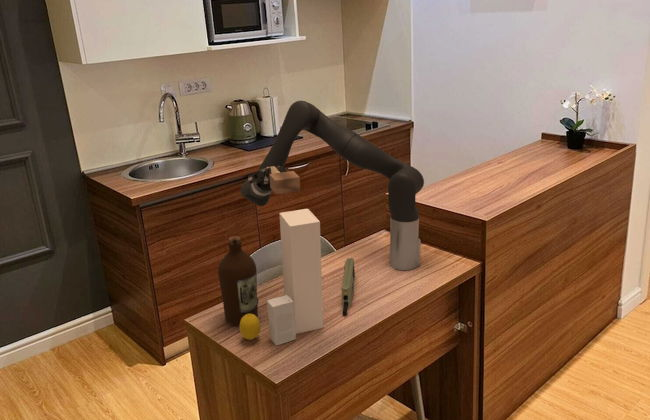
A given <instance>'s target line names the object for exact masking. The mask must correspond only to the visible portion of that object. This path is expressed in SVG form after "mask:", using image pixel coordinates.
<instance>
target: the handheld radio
mask: <svg viewBox="0 0 650 420" xmlns="http://www.w3.org/2000/svg"><path fill="white" fill-rule="evenodd" d="M343 270H344V271H343V277H342V278H343V279H342V284H341V298H342V299H341V301H342V306H343V307H342V313H341V314H342V315H343V316H347V313H348V310H349V309H348V308H349V307H351V306H352V301H353V298H354V297H353V296H354V289H355V287H354V285H355V279H356V278H355V277H356V276H355V275H356V271H355V259H354V258H353V257H348V258H346V260H345V261H344V267H343Z"/></svg>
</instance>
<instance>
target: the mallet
mask: <svg viewBox="0 0 650 420" xmlns="http://www.w3.org/2000/svg"><path fill="white" fill-rule="evenodd" d="M267 168H268V167H267ZM269 175H270V188H271V189H272V190H273V191H272V192H273V194H275V195H282V194H289V193H295V192H301V178H300V176H299V175H298V174H297V173H296V172H295V171H294V170H291V171H290V170H289V172H281V173H280V172H279V171H278V170H277V169H276V167H275V166H272V167H271V174H269Z"/></svg>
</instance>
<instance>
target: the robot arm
mask: <svg viewBox="0 0 650 420" xmlns="http://www.w3.org/2000/svg"><path fill="white" fill-rule="evenodd" d="M301 131H305V132H308V133H309V134H312V135H314V136H315V137H317V138H319V139H320V140H322V141H323V142H325V144H327V145H328V146H329V147H330V148H331V149H332V150H333V151H334V152H335V153H336V154H337V155H338V156H340V157H341V158H342V159H345V161H347V162H349V163H350V164H352V165H354V166H355V167H358V168H361V169H364V170H368V171H372V172H375V173H378V174H380V175H382V176H384V177H385V178H388V179H389V181H388V183H387V196H388V197H387V201H388V210H389V213H390V232H389V233H390V234H389V235H390V236H389V237H390V239H389V241H390V242H389V265H390V266H391V267H392V269H395V270H399V271H411V270H414V269H416V268H417V267H418V266H420V264H421V244H422V243H421V242H422V240H421V239H420V238H419V230H420V229H419V228H420V227H419V225H420V209H419V208H418V207H417V206H416V195H417V194H418V193H419V192H420V191H421V190H422V189H423V187H424V185H425V180H424V176H423V175H422V173H421V172H420V170H418V169H417V168H415V167H414V166H412V165H409V164H408V163H406V162H404V161H402V160H401V159H400V160H399V159H398V158H396V157H394V156H392V155H391V154H389V153H387V152H386V151H384V150H383V149H381V148H380V147H378V146H376V145H375V144H374V143H372V142H371V141H370V140H368V139H366V138H364V136H362V135H361V134H359V133H358V132H355V131H353V130H351V129H350V128H348V127H346V126H343V125H342V124H339V123H338V122H336V121H334V120H332V119H331V118H329V116H327V115H326V114H325V113H324V112H322V110H320V109H319V108H318V107H316V106H315V105H314V104H312V103H310V102H307V101H306V100H297V101H295V102H293V103H292V104H291V105H290V107H289V108H288V110H287V112H286V114H285V117H284V120H283V122H282V123H281V127H280V129H279V131H278V133H277V136H276V137H275V140H274V142H273V144H272V146H271V147H270V149H269V151H268V152H267V155H266V156H265V158H264V159H263V161H262V163H261V164H260V165H259V167H258V170H257V171H255V172H254V173H251V174H248V175H247V178H248V179H246V180H245V181H244V182H243V184H242V185H241V187H240V194H241V196H242V197H243V198H245V199H246V200H248V201H249V202H251V203H253V204H255V205H257V206H258V207H264V206H266V205H267V204H268V203H269V201H270V199H271V196H272V192H273V190H272V189H271V188H270V175H269V174H271V167H272V166H275V167H276V169H277V170H278V171H279V172H280V173H281V172H289V171H290V170H289V169H287V168H286V167H285V165H286V163H287V161H288V158H289V155H290V153H291V149H292V145H293V144H294V142H295V140H296V139H297V137H298V135H299V134H300V133H301ZM267 167H268V168H267Z"/></svg>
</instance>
